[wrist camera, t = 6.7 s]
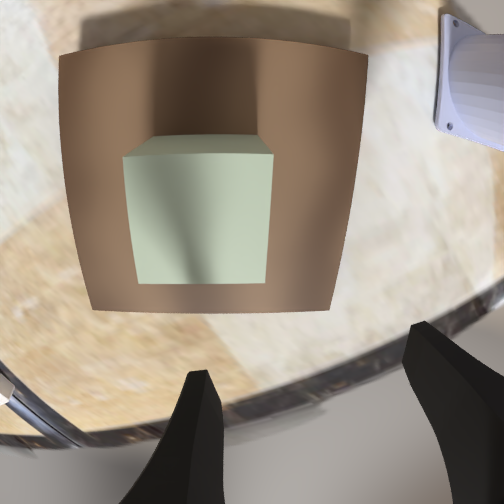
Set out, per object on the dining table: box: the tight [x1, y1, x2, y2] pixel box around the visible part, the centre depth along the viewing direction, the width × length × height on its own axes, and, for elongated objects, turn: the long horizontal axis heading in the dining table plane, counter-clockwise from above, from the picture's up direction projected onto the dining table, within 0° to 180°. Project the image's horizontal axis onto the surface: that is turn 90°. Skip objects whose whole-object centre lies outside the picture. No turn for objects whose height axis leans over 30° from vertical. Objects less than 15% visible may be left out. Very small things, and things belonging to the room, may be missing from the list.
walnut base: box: [58, 37, 368, 313], centre depth 15 cm, size 14×14×2 cm
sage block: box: [123, 134, 274, 284], centre depth 12 cm, size 4×4×4 cm
